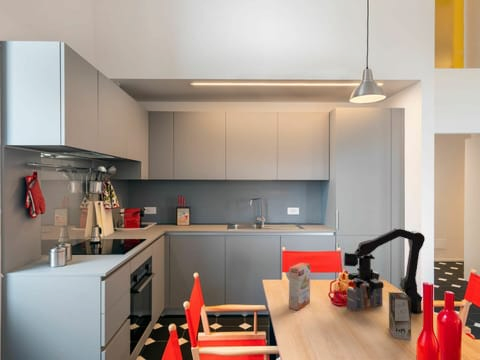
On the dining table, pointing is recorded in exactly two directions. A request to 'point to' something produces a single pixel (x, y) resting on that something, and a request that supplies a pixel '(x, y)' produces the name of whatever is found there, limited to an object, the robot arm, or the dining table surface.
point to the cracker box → (299, 286)
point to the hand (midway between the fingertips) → (365, 297)
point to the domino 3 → (365, 296)
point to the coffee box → (400, 315)
